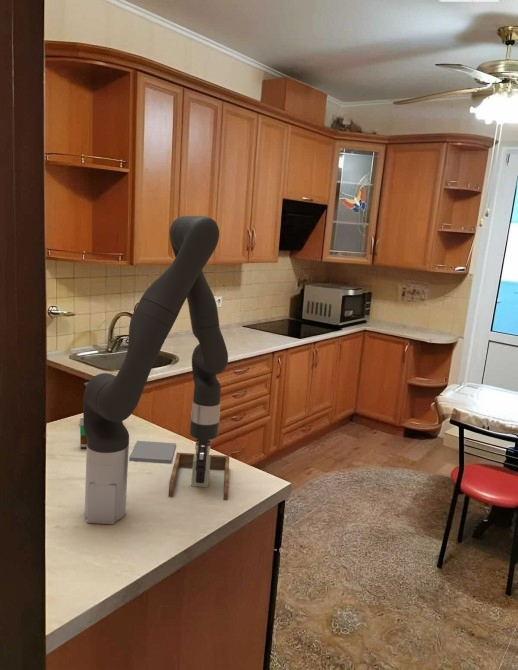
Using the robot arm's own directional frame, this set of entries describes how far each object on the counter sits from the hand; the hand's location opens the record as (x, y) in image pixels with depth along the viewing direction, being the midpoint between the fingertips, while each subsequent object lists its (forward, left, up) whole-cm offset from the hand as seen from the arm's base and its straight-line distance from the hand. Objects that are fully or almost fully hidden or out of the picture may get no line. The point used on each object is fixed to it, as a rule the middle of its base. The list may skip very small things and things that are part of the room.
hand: (200, 477), depth 139 cm
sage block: (0, 0, -1) cm, 1 cm away
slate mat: (+16, +15, -1) cm, 22 cm away
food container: (+20, +33, -2) cm, 39 cm away
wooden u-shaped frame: (0, 0, -1) cm, 1 cm away
